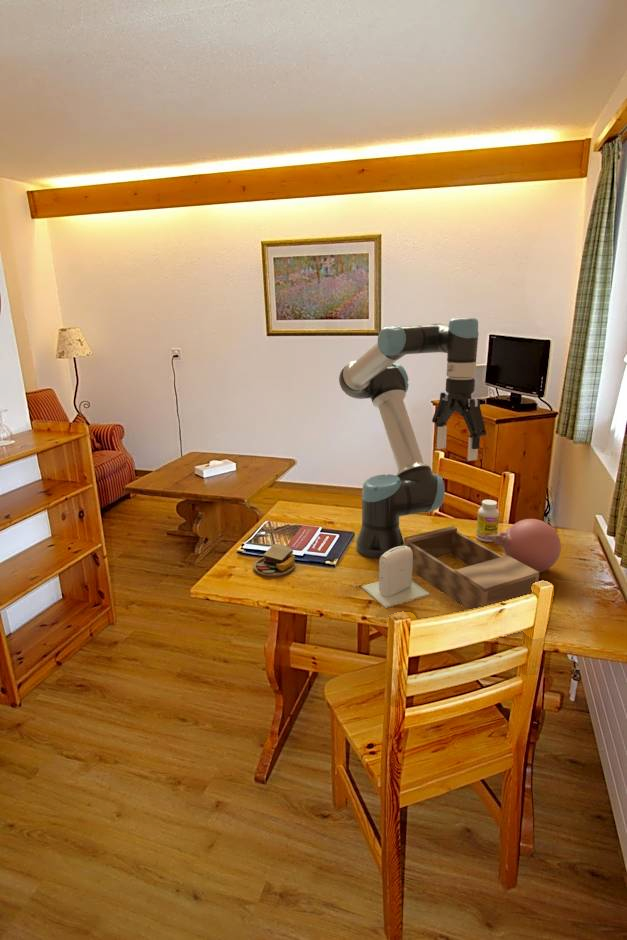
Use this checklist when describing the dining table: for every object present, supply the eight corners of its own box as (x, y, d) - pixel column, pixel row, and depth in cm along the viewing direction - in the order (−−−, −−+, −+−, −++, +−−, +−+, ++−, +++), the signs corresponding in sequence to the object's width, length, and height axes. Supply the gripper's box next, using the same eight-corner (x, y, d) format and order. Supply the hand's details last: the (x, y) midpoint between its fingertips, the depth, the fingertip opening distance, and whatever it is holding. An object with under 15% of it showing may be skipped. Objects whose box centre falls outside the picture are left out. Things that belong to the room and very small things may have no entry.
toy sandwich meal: (244, 570, 167) (243, 556, 166) (274, 554, 177) (273, 540, 176) (276, 582, 160) (276, 567, 158) (305, 564, 170) (305, 550, 169)
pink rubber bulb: (485, 553, 174) (488, 507, 170) (554, 560, 169) (560, 513, 164) (485, 577, 160) (489, 527, 155) (561, 585, 155) (567, 534, 150)
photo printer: (387, 598, 148) (388, 556, 145) (376, 592, 152) (377, 550, 148) (414, 586, 154) (416, 545, 151) (403, 580, 158) (404, 540, 154)
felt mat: (361, 587, 155) (361, 585, 155) (403, 576, 161) (403, 574, 161) (385, 608, 145) (385, 606, 145) (429, 595, 151) (429, 593, 151)
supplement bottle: (482, 543, 181) (485, 506, 177) (472, 535, 187) (474, 499, 184) (500, 541, 183) (504, 504, 179) (490, 533, 189) (493, 497, 185)
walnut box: (403, 565, 168) (404, 537, 165) (451, 552, 175) (452, 526, 173) (482, 620, 139) (485, 588, 136) (535, 603, 146) (539, 572, 144)
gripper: (421, 373, 159) (419, 445, 166) (480, 384, 138) (475, 467, 144) (443, 371, 162) (440, 442, 168) (504, 382, 140) (498, 463, 147)
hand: (456, 454), depth 156 cm, fingers open, 13 cm apart
